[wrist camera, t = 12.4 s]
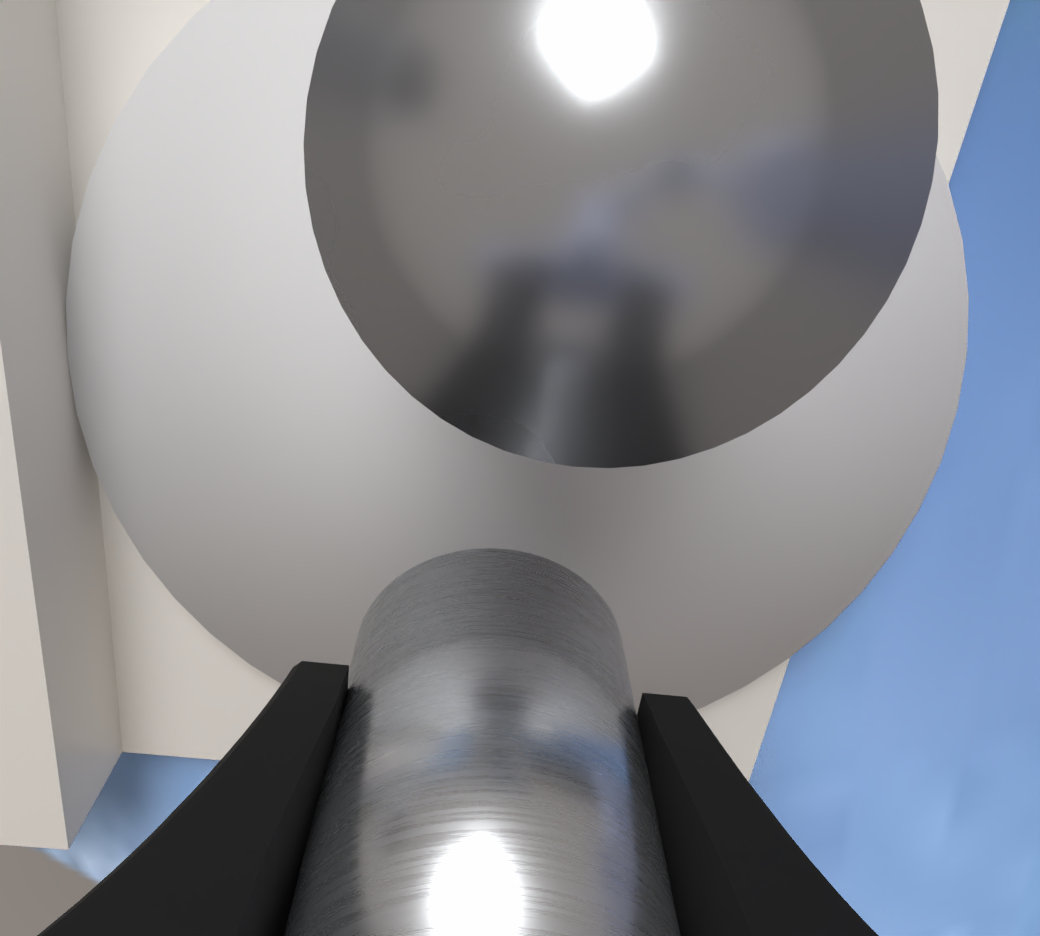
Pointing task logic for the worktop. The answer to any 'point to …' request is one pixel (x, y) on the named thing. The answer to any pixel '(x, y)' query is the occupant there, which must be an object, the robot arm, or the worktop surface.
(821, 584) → the scale
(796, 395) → the cylinder
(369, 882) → the cylinder
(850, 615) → the worktop surface
